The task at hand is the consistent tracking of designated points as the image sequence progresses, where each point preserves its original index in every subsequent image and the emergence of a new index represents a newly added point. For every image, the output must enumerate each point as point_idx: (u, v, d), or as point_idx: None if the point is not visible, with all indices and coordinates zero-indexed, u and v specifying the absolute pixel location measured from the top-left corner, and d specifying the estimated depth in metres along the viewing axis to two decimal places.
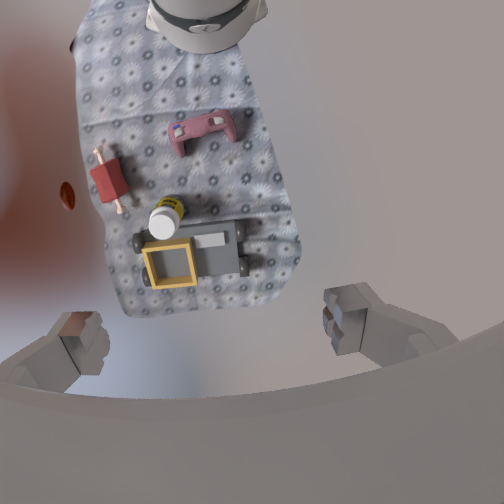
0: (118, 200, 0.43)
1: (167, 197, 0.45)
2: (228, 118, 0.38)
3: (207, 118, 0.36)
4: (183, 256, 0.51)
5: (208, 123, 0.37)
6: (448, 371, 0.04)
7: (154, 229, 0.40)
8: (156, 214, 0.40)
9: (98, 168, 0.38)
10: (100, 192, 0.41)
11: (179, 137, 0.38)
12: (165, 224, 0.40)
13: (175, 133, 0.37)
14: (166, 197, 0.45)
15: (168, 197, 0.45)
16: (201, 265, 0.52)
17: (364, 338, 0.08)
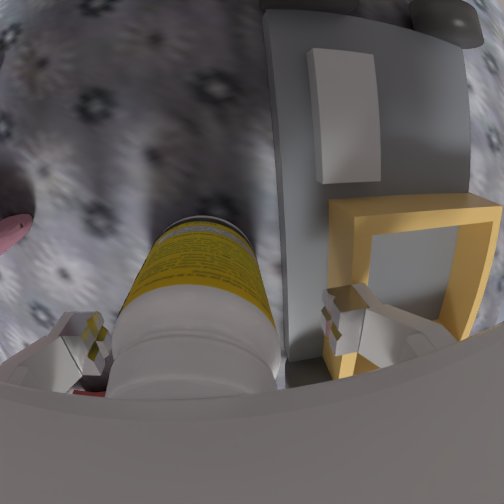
0: None
1: None
2: None
3: None
4: (400, 234, 0.12)
5: None
6: (448, 371, 0.04)
7: None
8: None
9: None
10: None
11: None
12: None
13: None
14: None
15: None
16: (439, 171, 0.11)
17: (362, 338, 0.08)
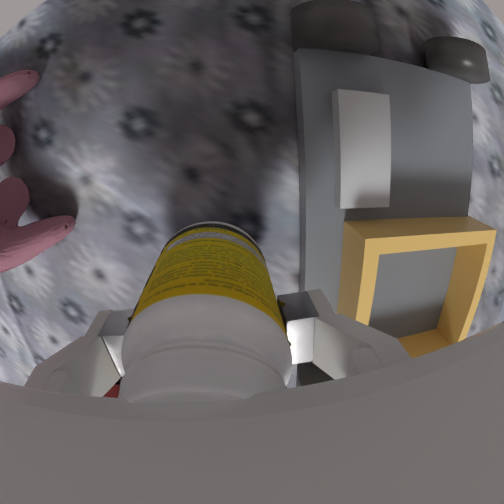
0: None
1: None
2: None
3: None
4: (404, 252, 0.13)
5: None
6: (448, 371, 0.04)
7: None
8: None
9: None
10: None
11: None
12: None
13: None
14: None
15: None
16: (442, 198, 0.12)
17: (314, 348, 0.08)
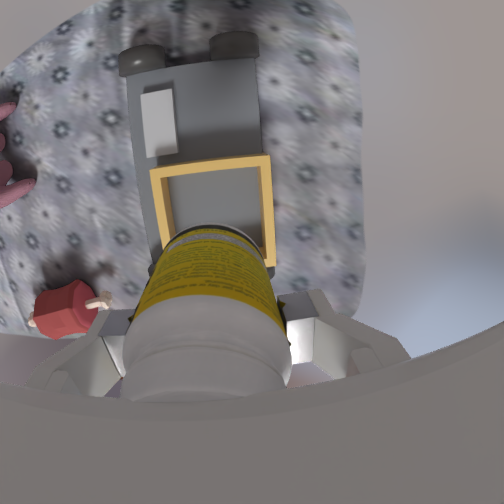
0: (89, 302, 0.23)
1: None
2: None
3: None
4: (205, 182, 0.22)
5: None
6: (448, 371, 0.04)
7: None
8: None
9: (38, 328, 0.22)
10: (75, 331, 0.23)
11: None
12: None
13: None
14: None
15: None
16: (230, 142, 0.21)
17: (314, 348, 0.08)
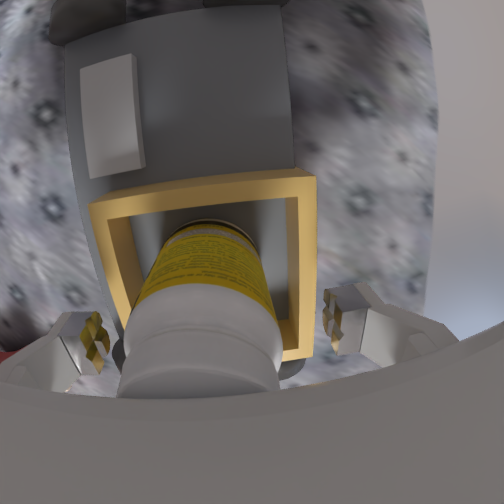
0: None
1: None
2: None
3: None
4: (193, 220, 0.12)
5: None
6: (448, 371, 0.04)
7: None
8: None
9: None
10: None
11: None
12: None
13: None
14: None
15: None
16: (237, 148, 0.11)
17: (364, 338, 0.08)
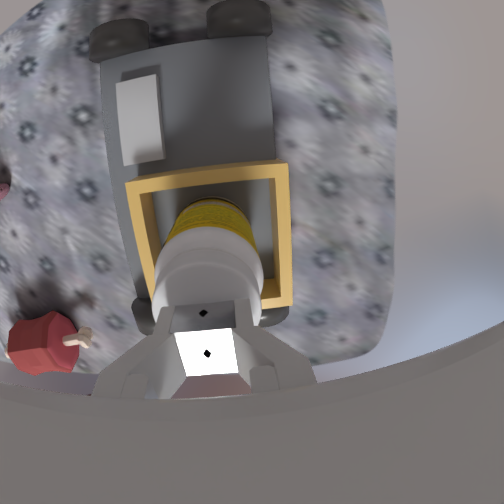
0: (66, 339, 0.18)
1: None
2: None
3: None
4: (200, 197, 0.17)
5: None
6: (448, 371, 0.04)
7: None
8: None
9: (14, 363, 0.17)
10: (54, 369, 0.18)
11: None
12: (191, 299, 0.10)
13: None
14: None
15: None
16: (233, 145, 0.16)
17: (235, 359, 0.08)
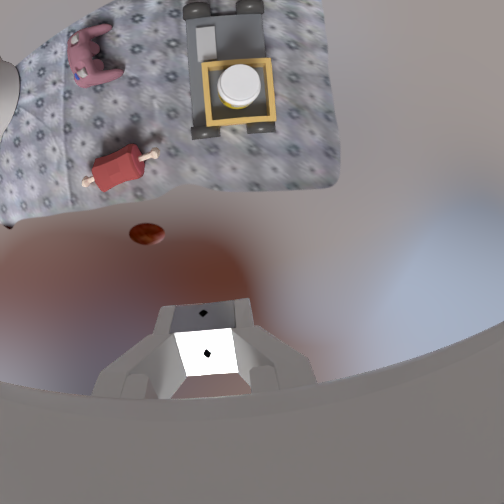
0: (141, 156, 0.33)
1: None
2: (76, 32, 0.24)
3: (70, 48, 0.24)
4: None
5: (75, 45, 0.24)
6: (448, 371, 0.04)
7: (242, 92, 0.26)
8: (221, 88, 0.26)
9: (94, 177, 0.32)
10: (126, 178, 0.33)
11: (87, 70, 0.26)
12: (235, 75, 0.25)
13: (82, 76, 0.26)
14: (218, 93, 0.31)
15: None
16: (247, 56, 0.31)
17: (235, 359, 0.08)
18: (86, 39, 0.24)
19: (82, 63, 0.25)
